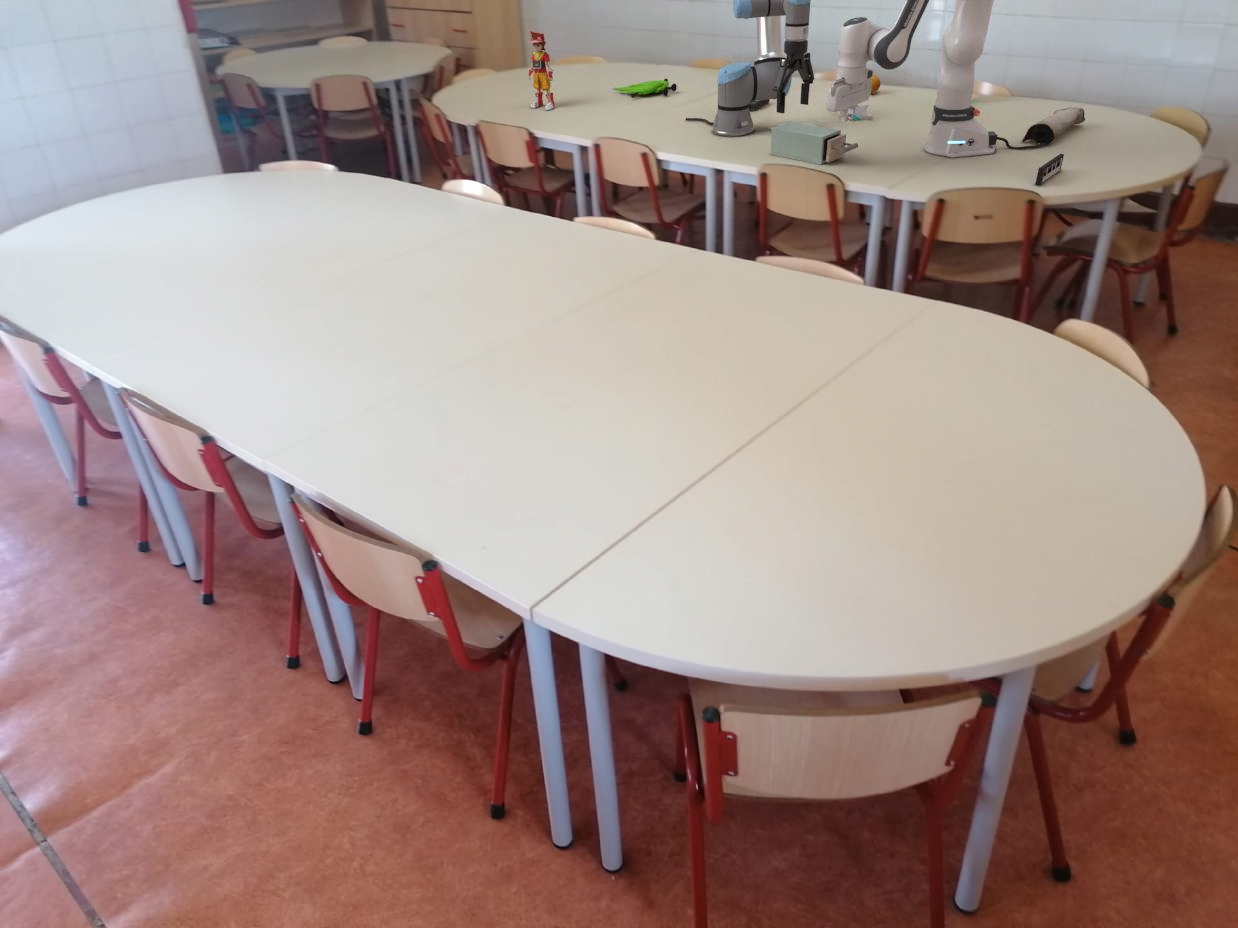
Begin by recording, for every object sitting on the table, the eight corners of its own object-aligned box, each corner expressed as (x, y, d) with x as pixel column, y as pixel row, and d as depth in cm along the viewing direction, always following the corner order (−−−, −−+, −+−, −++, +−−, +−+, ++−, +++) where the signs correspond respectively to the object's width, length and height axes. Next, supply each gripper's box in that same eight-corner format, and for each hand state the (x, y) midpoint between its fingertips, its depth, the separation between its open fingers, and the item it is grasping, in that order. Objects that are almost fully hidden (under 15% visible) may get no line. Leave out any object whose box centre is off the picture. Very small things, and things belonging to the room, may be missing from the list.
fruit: (854, 86, 370) (866, 68, 367) (856, 89, 378) (868, 72, 375) (870, 97, 369) (883, 79, 366) (872, 100, 376) (884, 83, 373)
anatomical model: (835, 89, 346) (860, 82, 346) (837, 116, 352) (863, 109, 352) (846, 98, 334) (872, 91, 333) (848, 126, 340) (874, 119, 339)
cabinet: (838, 157, 304) (841, 130, 299) (820, 164, 298) (823, 137, 293) (788, 147, 316) (789, 121, 311) (770, 154, 310) (771, 128, 305)
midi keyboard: (1039, 185, 269) (1043, 168, 266) (1035, 184, 270) (1038, 168, 267) (1060, 170, 279) (1064, 154, 277) (1056, 169, 280) (1060, 153, 277)
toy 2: (686, 85, 398) (631, 84, 414) (685, 72, 395) (629, 72, 411) (651, 104, 381) (596, 103, 397) (650, 92, 378) (594, 91, 394)
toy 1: (525, 109, 381) (517, 32, 364) (534, 104, 388) (527, 28, 371) (550, 110, 377) (543, 32, 360) (559, 105, 384) (553, 28, 367)
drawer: (858, 158, 298) (860, 137, 294) (842, 165, 293) (844, 143, 289) (796, 146, 313) (797, 126, 309) (780, 153, 308) (781, 132, 304)
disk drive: (754, 111, 359) (769, 102, 369) (754, 104, 357) (770, 95, 367) (731, 109, 364) (746, 100, 374) (731, 102, 362) (747, 93, 372)
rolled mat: (1051, 112, 323) (1076, 94, 315) (1065, 133, 323) (1091, 116, 315) (1017, 135, 306) (1043, 117, 298) (1032, 158, 306) (1058, 140, 298)
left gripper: (782, 47, 281) (779, 117, 293) (827, 34, 295) (823, 102, 307) (763, 45, 285) (761, 114, 297) (808, 32, 299) (804, 99, 311)
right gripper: (841, 83, 274) (837, 129, 282) (876, 70, 286) (872, 115, 294) (823, 80, 278) (820, 126, 286) (859, 68, 290) (855, 112, 298)
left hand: (792, 108), depth 302 cm, fingers open, 13 cm apart
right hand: (846, 120), depth 290 cm, fingers closed
